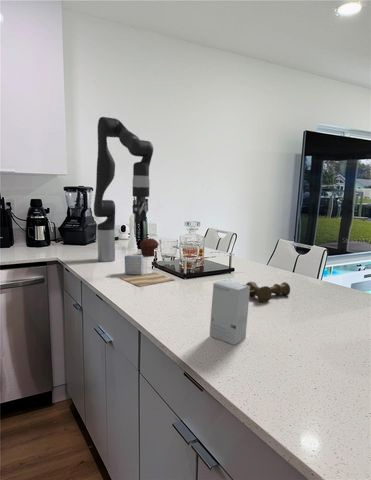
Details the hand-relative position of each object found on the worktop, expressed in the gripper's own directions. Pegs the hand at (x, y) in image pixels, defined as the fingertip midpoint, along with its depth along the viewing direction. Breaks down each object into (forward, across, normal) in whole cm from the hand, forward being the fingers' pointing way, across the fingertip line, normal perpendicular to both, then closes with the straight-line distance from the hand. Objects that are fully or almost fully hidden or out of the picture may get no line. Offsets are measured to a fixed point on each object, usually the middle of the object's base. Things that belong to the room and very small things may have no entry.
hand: (140, 222), depth 151 cm
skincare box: (+22, +60, +45) cm, 79 cm away
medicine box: (+24, +2, -2) cm, 25 cm away
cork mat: (+24, +9, +7) cm, 27 cm away
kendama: (+23, +22, +56) cm, 65 cm away
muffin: (+26, -45, -10) cm, 53 cm away
